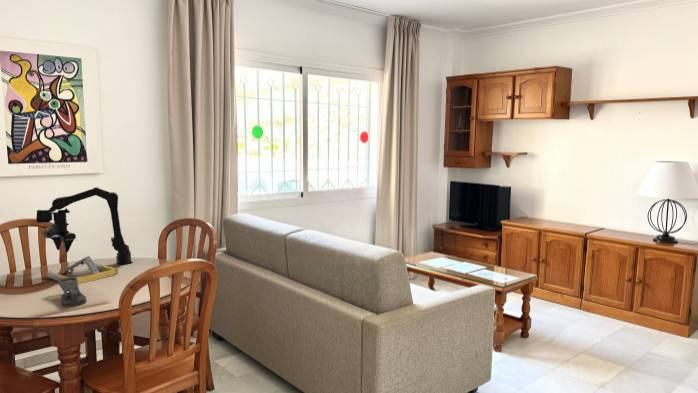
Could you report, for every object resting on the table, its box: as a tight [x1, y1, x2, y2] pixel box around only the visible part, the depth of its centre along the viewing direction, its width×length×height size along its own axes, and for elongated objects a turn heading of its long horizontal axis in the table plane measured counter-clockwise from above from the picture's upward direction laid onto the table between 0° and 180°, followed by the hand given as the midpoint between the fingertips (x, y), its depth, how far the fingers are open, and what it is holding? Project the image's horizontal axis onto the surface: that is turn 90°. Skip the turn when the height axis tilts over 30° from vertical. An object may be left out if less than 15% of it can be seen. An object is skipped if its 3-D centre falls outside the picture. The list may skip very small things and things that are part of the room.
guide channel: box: [46, 261, 119, 285], centre depth 247 cm, size 23×25×2 cm
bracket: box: [57, 255, 100, 275], centre depth 249 cm, size 10×14×10 cm
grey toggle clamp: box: [56, 275, 87, 308], centre depth 211 cm, size 9×7×25 cm
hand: (62, 251), depth 257 cm, fingers open, 9 cm apart
